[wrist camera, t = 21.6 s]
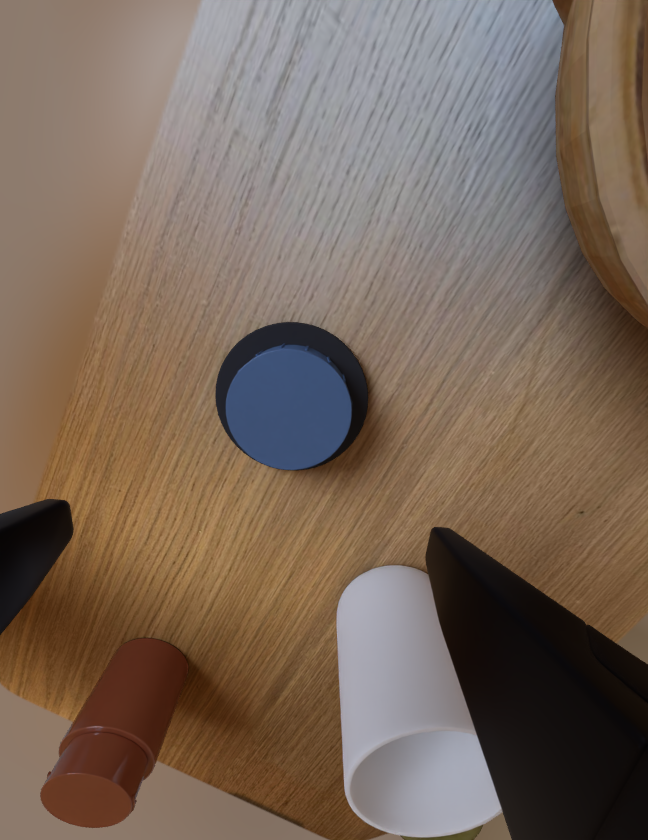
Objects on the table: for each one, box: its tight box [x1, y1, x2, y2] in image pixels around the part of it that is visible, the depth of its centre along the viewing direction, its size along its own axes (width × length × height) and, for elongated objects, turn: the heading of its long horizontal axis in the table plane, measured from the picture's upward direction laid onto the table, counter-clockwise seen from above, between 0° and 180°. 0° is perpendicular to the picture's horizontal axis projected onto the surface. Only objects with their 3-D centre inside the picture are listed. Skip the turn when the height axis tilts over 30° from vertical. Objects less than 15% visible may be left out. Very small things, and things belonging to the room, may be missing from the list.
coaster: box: [216, 322, 368, 470], centre depth 21 cm, size 9×9×1 cm
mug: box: [337, 565, 502, 837], centre depth 21 cm, size 12×8×10 cm
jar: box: [40, 638, 189, 828], centre depth 24 cm, size 6×6×8 cm
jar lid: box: [226, 344, 352, 470], centre depth 19 cm, size 7×7×2 cm
